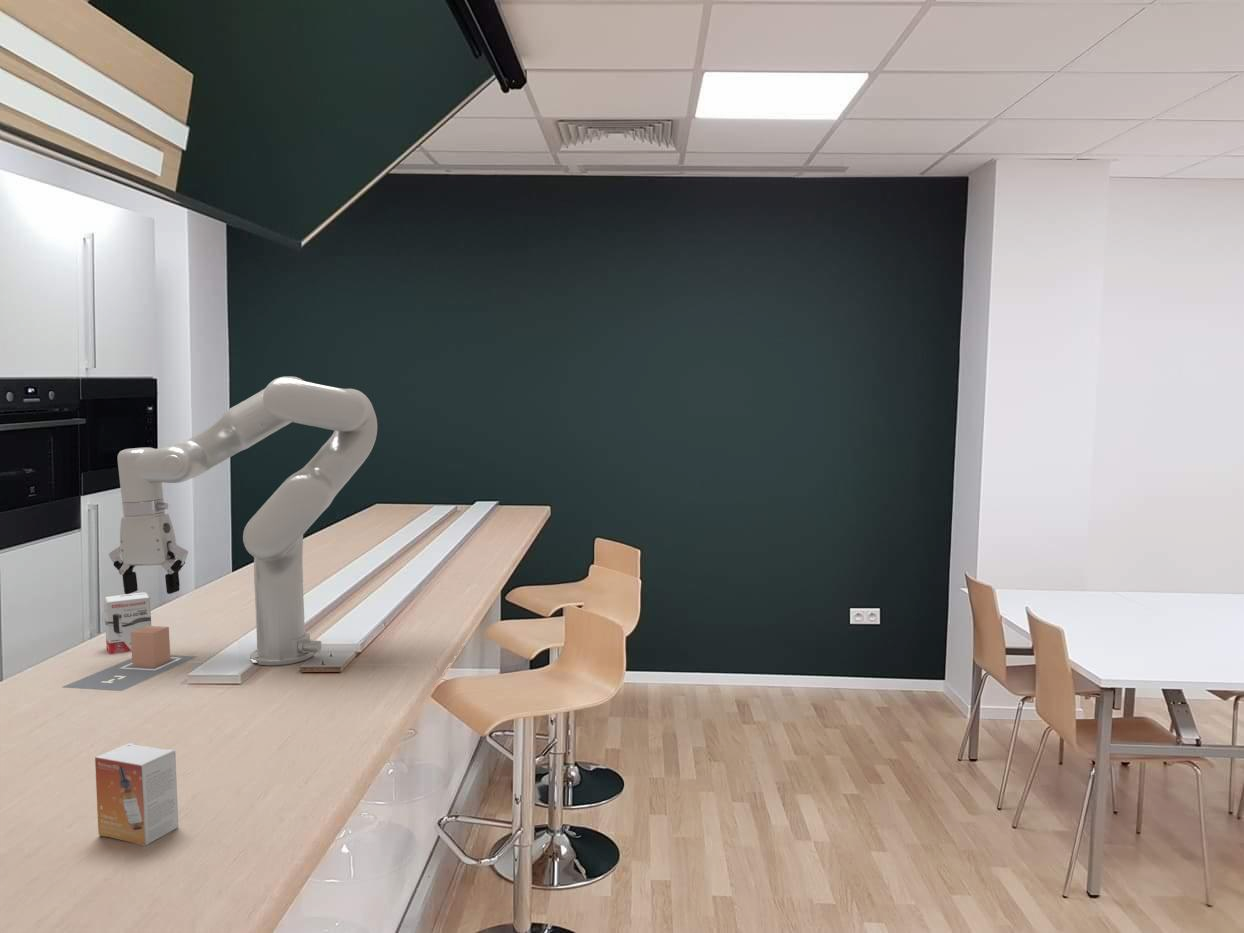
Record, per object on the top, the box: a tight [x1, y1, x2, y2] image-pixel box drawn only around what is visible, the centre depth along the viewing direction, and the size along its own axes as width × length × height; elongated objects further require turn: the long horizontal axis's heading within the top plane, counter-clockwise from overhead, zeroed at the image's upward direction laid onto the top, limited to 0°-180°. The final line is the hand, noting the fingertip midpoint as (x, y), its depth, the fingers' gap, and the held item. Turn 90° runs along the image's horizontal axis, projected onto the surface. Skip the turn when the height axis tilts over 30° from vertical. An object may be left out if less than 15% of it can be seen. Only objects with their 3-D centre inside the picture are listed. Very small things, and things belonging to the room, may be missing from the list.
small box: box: [94, 742, 179, 847], centre depth 127 cm, size 8×6×10 cm
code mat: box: [62, 654, 198, 692], centre depth 197 cm, size 13×23×1 cm, turn 168°
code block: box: [131, 625, 171, 667], centre depth 202 cm, size 5×5×7 cm
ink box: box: [103, 591, 152, 655], centre depth 213 cm, size 8×5×12 cm, turn 123°
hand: (152, 592), depth 201 cm, fingers open, 9 cm apart
